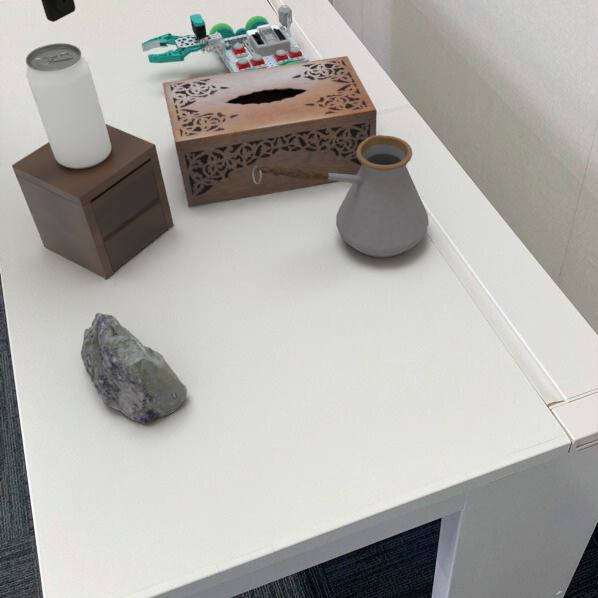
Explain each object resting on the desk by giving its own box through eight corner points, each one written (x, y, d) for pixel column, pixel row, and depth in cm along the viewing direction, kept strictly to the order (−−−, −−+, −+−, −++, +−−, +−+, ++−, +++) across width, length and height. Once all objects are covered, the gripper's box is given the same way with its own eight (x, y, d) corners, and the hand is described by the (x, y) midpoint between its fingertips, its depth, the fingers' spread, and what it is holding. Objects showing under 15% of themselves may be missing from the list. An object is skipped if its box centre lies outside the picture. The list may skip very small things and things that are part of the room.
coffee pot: (403, 200, 103) (408, 98, 91) (442, 253, 96) (454, 150, 84) (250, 241, 97) (236, 139, 86) (280, 301, 90) (269, 198, 79)
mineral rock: (86, 344, 86) (60, 278, 79) (183, 329, 88) (166, 263, 80) (84, 437, 78) (54, 374, 70) (191, 419, 79) (173, 355, 72)
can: (49, 147, 90) (15, 49, 81) (104, 132, 92) (76, 35, 83) (62, 177, 86) (28, 78, 77) (119, 161, 88) (92, 62, 79)
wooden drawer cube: (44, 246, 97) (11, 165, 88) (112, 196, 104) (88, 116, 94) (106, 279, 93) (79, 198, 84) (174, 225, 100) (155, 144, 90)
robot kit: (140, 62, 127) (128, 6, 120) (283, 33, 133) (279, -22, 126) (168, 120, 116) (156, 62, 109) (323, 85, 122) (321, 27, 115)
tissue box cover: (347, 119, 115) (347, 55, 108) (375, 174, 106) (376, 110, 99) (175, 146, 111) (162, 82, 104) (188, 207, 102) (175, 142, 94)
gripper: (-141, -210, 65) (-60, -6, 78) (-3, -173, 59) (59, 42, 72) (-65, -229, 69) (-1, -32, 82) (71, -197, 63) (117, 11, 76)
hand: (27, 2), depth 77 cm, fingers open, 9 cm apart
